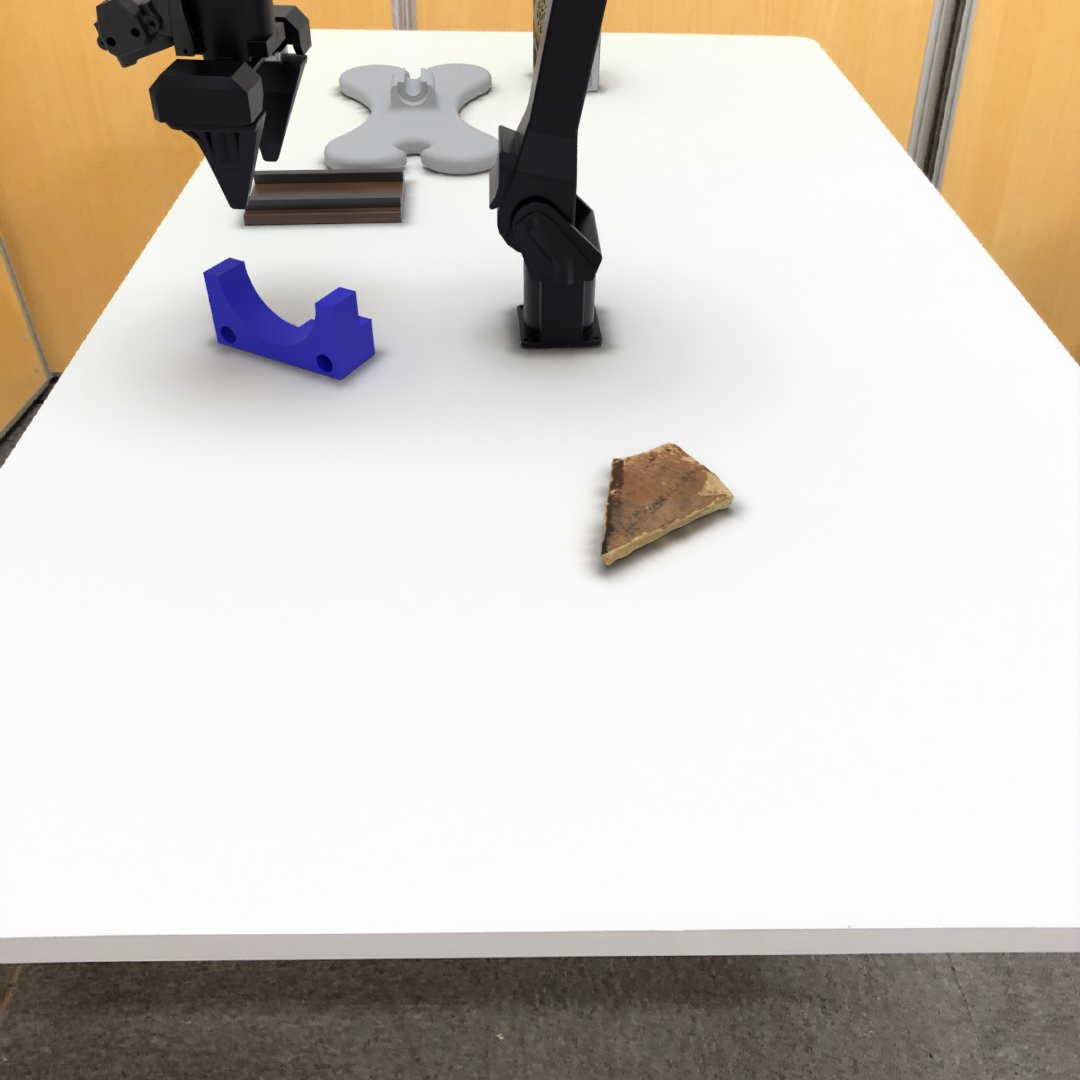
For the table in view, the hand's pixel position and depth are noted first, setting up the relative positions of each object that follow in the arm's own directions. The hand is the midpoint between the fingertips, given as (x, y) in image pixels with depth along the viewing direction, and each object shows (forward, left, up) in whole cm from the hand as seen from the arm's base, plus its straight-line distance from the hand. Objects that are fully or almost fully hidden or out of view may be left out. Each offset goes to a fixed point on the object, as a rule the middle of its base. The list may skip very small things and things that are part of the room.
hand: (255, 183), depth 78 cm
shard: (-26, -28, -12) cm, 40 cm away
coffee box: (+64, -29, -12) cm, 71 cm away
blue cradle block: (-3, -2, -12) cm, 13 cm away
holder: (+50, -10, -12) cm, 52 cm away
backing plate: (+26, -2, -12) cm, 29 cm away
